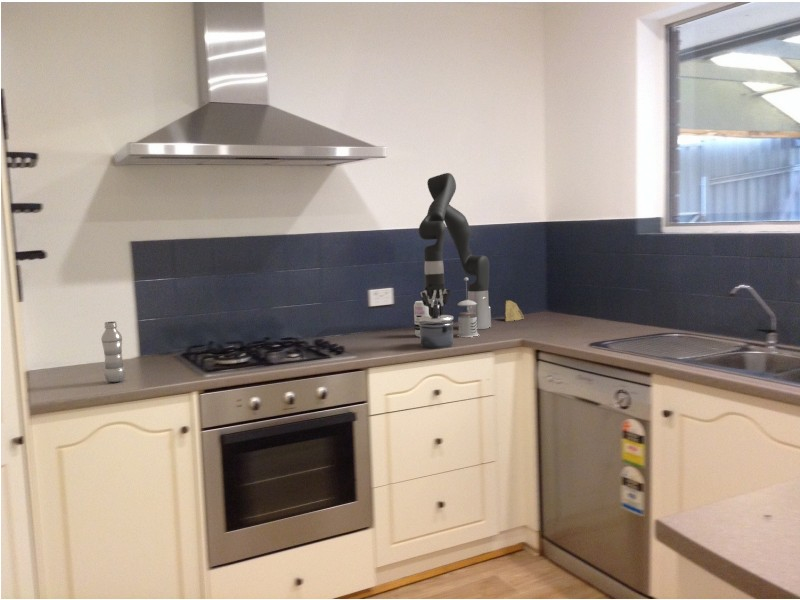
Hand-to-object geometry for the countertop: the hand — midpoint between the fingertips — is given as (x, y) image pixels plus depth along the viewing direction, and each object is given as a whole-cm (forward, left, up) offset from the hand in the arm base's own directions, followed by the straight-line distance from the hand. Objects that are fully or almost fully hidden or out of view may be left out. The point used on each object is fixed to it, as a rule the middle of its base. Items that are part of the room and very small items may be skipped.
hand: (436, 315), depth 266 cm
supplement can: (-10, -24, -12) cm, 29 cm away
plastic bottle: (+116, -20, -12) cm, 118 cm away
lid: (0, 0, -2) cm, 2 cm away
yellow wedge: (-68, -32, -12) cm, 76 cm away
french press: (-24, -11, -12) cm, 29 cm away
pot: (0, 0, -12) cm, 12 cm away
